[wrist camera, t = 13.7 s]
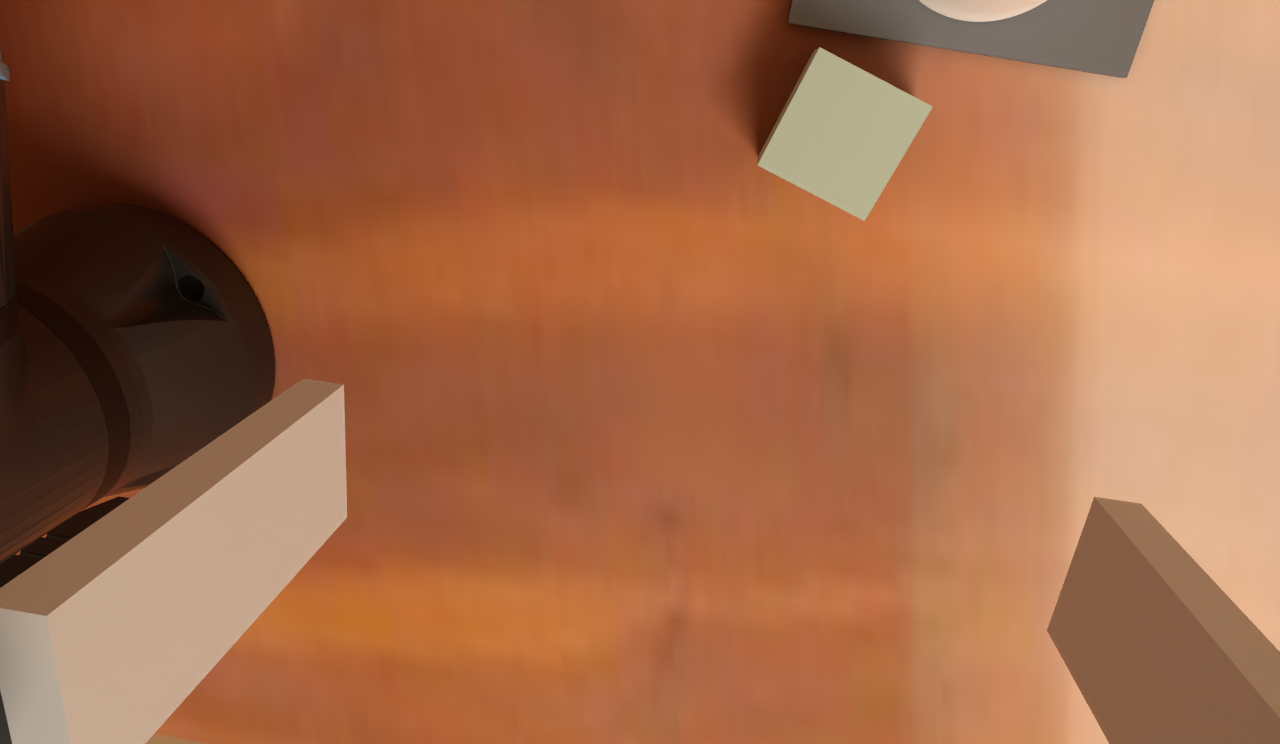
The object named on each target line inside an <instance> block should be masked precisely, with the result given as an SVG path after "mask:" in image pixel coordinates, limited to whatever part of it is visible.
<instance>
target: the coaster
mask: <svg viewBox="0 0 1280 744" xmlns="http://www.w3.org/2000/svg"><path fill="white" fill-rule="evenodd" d="M1153 2H1154V0H1047V1H1045V2H1044V3H1042V4H1040V5H1039V6H1037V7H1035V8H1033V9H1031V10H1029V11H1027V12H1024V13H1022V14H1019V15H1016V16H1013V17H1010V18H1006V19H1002V20H996V21H988V22H971V21H963V20H957V19H953V18H950V17H947V16H944V15H942V14H939V13H937V12H935V11H933V10H931V9H930V8H928V7H927V6H925V5H924V4H922V3H921V2H920V1H918V0H792V5H791V10H790V15H789V20H788V24H794V25H800V26H806V27H812V28H818V29H825V30H831V31H837V32H843V33H849V34H855V35H862V36H868V37H874V38H880V39H886V40H892V41H898V42H905V43H911V44H917V45H923V46H929V47H935V48H942V49H948V50H954V51H960V52H966V53H972V54H978V55H985V56H991V57H997V58H1003V59H1009V60H1015V61H1022V62H1028V63H1034V64H1040V65H1046V66H1052V67H1058V68H1065V69H1071V70H1077V71H1083V72H1089V73H1095V74H1102V75H1108V76H1114V77H1120V78H1127V76H1128V73H1129V70H1130V67H1131V65H1132V62H1133V59H1134V56H1135V53H1136V50H1137V48H1138V45H1139V42H1140V39H1141V36H1142V33H1143V31H1144V28H1145V25H1146V22H1147V19H1148V16H1149V14H1150V11H1151V8H1152V5H1153Z"/></svg>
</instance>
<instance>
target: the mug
mask: <svg viewBox="0 0 1280 744" xmlns="http://www.w3.org/2000/svg"><path fill="white" fill-rule="evenodd" d="M918 1H920V2H921V3H922V4H924V5H925V6H927V7H928V8H930V9H931V10H933V11H935V12H937V13H939V14H942V15H944V16H947V17H950V18H953V19H957V20H963V21H971V22H988V21H996V20H1002V19H1006V18H1010V17H1013V16H1016V15H1019V14H1022V13H1024V12H1027V11H1029V10H1031V9H1033V8H1035V7H1037V6H1039V5H1040V4H1042V3H1044V2H1045V1H1047V0H918Z"/></svg>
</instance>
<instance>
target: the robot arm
mask: <svg viewBox="0 0 1280 744" xmlns="http://www.w3.org/2000/svg"><path fill="white" fill-rule="evenodd" d="M9 76H10V72H9V68H8V66H7V65H6V64H5V63H4V62H3V61H2V58H1V51H0V744H145V743H146V742H147V741H148V740H149V739H150V738H151V737H152V735H153V734H154V733H155V732H156V731H157V730H158V729H159V728H160V726H161V725H162V724H163V723H164V722H165V721H166V720H167V719H168V718H169V716H170V715H171V714H172V713H173V712H174V711H175V710H176V709H177V707H178V706H179V705H180V704H181V703H182V702H183V701H184V700H185V698H186V697H187V696H188V695H189V694H190V693H191V692H192V691H193V689H194V688H195V687H196V686H197V685H198V684H199V683H200V682H201V680H202V679H203V678H204V677H205V676H206V675H207V674H208V673H209V672H210V670H211V669H212V668H213V667H214V666H215V665H216V664H217V663H218V661H219V660H220V659H221V658H222V657H223V656H224V655H225V654H226V652H227V651H228V650H229V649H230V648H231V647H232V646H233V645H234V643H235V642H236V641H237V640H238V639H239V638H240V637H241V636H242V635H243V633H244V632H245V631H246V630H247V629H248V628H249V627H250V626H251V624H252V623H253V622H254V621H255V620H256V619H257V618H258V617H259V615H260V614H261V613H262V612H263V611H264V610H265V609H266V608H267V606H268V605H269V604H270V603H271V602H272V601H273V600H274V599H275V598H276V596H277V595H278V594H279V593H280V592H281V591H282V590H283V589H284V587H285V586H286V585H287V584H288V583H289V582H290V581H291V580H292V578H293V577H294V576H295V575H296V574H297V573H298V572H299V571H300V569H301V568H302V567H303V566H304V565H305V564H306V563H307V562H308V560H309V559H310V558H311V557H312V556H313V555H314V554H315V553H316V552H317V550H318V549H319V548H320V547H321V546H322V545H323V544H324V543H325V541H326V540H327V539H328V538H329V537H330V536H331V535H332V534H333V532H334V531H335V530H336V529H337V528H338V527H339V526H340V525H341V523H342V522H343V521H344V520H345V519H346V518H347V492H346V452H345V411H344V385H343V384H336V383H330V382H323V381H316V380H310V379H302V380H300V381H299V382H297V383H296V384H294V385H293V386H292V387H290V388H289V389H287V390H286V391H284V392H283V393H281V394H280V395H279V396H277V397H276V398H274V399H273V400H271V398H272V394H273V389H274V381H275V358H274V350H273V345H272V339H271V336H270V332H269V328H268V325H267V322H266V319H265V317H264V315H263V312H262V310H261V308H260V306H259V304H258V301H257V299H256V298H255V296H254V294H253V292H252V291H251V289H250V287H249V286H248V284H247V283H246V281H245V280H244V278H243V277H242V276H241V274H240V273H239V272H238V270H237V269H236V268H235V267H234V266H233V264H232V263H231V262H230V261H229V260H228V259H227V258H226V257H225V256H224V255H223V254H222V253H221V252H220V251H219V250H218V249H217V248H216V247H215V246H214V245H213V244H211V243H210V242H209V241H208V240H207V239H205V238H204V237H203V236H201V235H200V234H199V233H197V232H196V231H194V230H193V229H191V228H189V227H188V226H186V225H184V224H183V223H181V222H179V221H177V220H175V219H173V218H171V217H169V216H167V215H164V214H161V213H159V212H156V211H153V210H150V209H146V208H142V207H138V206H132V205H124V204H102V205H95V206H89V207H84V208H79V209H74V210H68V211H63V212H59V213H55V214H52V215H49V216H47V217H44V218H42V219H39V220H37V221H35V222H33V223H31V224H29V225H28V226H26V227H25V228H23V229H22V230H20V231H19V232H17V233H16V235H15V236H13V224H12V211H11V197H10V184H9V167H8V147H7V127H6V106H5V86H4V80H6V81H10V80H9ZM145 487H146V488H145ZM141 488H144V489H143V490H141V491H140V492H138V493H137V494H135V495H134V496H133V497H131V498H125V497H117V498H114V499H111V500H109V501H106V502H104V503H101V504H99V505H96V506H93V507H91V508H88V509H86V510H83V509H85V508H86V507H88V506H89V505H91V504H93V503H94V502H96V501H97V500H99V499H101V498H102V497H106V496H110V495H114V494H119V493H123V492H128V491H132V490H137V489H141ZM82 510H83V511H82ZM80 511H81V512H80ZM45 534H47V536H46V538H43V537H42V536H44V535H45ZM19 551H21V553H20V555H19V556H18V555H15V554H16V553H18V552H19ZM1047 631H1048V633H1049V635H1050V637H1051V638H1052V640H1053V642H1054V644H1055V646H1056V647H1057V649H1058V651H1059V653H1060V655H1061V657H1062V658H1063V660H1064V662H1065V664H1066V666H1067V667H1068V669H1069V671H1070V673H1071V675H1072V676H1073V678H1074V680H1075V682H1076V684H1077V686H1078V687H1079V689H1080V691H1081V693H1082V695H1083V696H1084V698H1085V700H1086V702H1087V704H1088V706H1089V707H1090V709H1091V711H1092V713H1093V715H1094V716H1095V718H1096V720H1097V722H1098V724H1099V725H1100V727H1101V729H1102V731H1103V733H1104V735H1105V736H1106V738H1107V740H1108V742H1109V744H1280V652H1279V651H1278V650H1277V648H1276V647H1275V646H1274V645H1273V644H1272V643H1271V642H1270V641H1269V640H1268V639H1267V638H1266V637H1265V636H1264V635H1263V633H1262V632H1261V631H1260V630H1259V629H1258V628H1257V627H1256V626H1255V625H1254V624H1253V623H1252V622H1251V621H1250V620H1249V618H1248V617H1247V616H1246V615H1245V614H1244V613H1243V612H1242V611H1241V610H1240V609H1239V608H1238V607H1237V606H1236V605H1235V604H1234V602H1233V601H1232V600H1231V599H1230V598H1229V597H1228V596H1227V595H1226V594H1225V593H1224V592H1223V591H1222V590H1221V589H1220V587H1219V586H1218V585H1217V584H1216V583H1215V582H1214V581H1213V580H1212V579H1211V578H1210V577H1209V576H1208V575H1207V574H1206V572H1205V571H1204V570H1203V569H1202V568H1201V567H1200V566H1199V565H1198V564H1197V563H1196V562H1195V561H1194V560H1193V559H1192V557H1191V556H1190V555H1189V554H1188V553H1187V552H1186V551H1185V550H1184V549H1183V548H1182V547H1181V546H1180V545H1179V544H1178V542H1177V541H1176V540H1175V539H1174V538H1173V537H1172V536H1171V535H1170V534H1169V533H1168V532H1167V531H1166V530H1165V529H1164V527H1163V526H1162V525H1161V524H1160V523H1159V522H1158V521H1157V520H1156V519H1155V518H1154V517H1153V516H1152V515H1151V514H1150V512H1149V511H1148V510H1147V509H1146V508H1145V507H1144V506H1143V505H1142V504H1139V503H1132V502H1125V501H1119V500H1112V499H1105V498H1098V497H1094V500H1093V503H1092V505H1091V508H1090V511H1089V514H1088V517H1087V519H1086V522H1085V525H1084V528H1083V531H1082V534H1081V536H1080V539H1079V542H1078V545H1077V548H1076V550H1075V553H1074V556H1073V559H1072V562H1071V565H1070V567H1069V570H1068V573H1067V576H1066V579H1065V581H1064V584H1063V587H1062V590H1061V593H1060V596H1059V598H1058V601H1057V604H1056V607H1055V610H1054V612H1053V615H1052V618H1051V621H1050V624H1049V627H1048V629H1047Z"/></svg>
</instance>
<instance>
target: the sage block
mask: <svg viewBox="0 0 1280 744" xmlns="http://www.w3.org/2000/svg"><path fill="white" fill-rule="evenodd" d="M932 107H933V106H931V105H929V104H927V103H925V102H923V101H921V100H919V99H917V98H915V97H914V96H912V95H910V94H908V93H906V92H904V91H902V90H900V89H898V88H896V87H895V86H893V85H891V84H889V83H887V82H885V81H883V80H881V79H879V78H877V77H876V76H874V75H872V74H870V73H868V72H866V71H864V70H862V69H860V68H858V67H857V66H855V65H853V64H851V63H849V62H847V61H845V60H843V59H841V58H839V57H837V56H836V55H834V54H832V53H830V52H828V51H826V50H824V49H822V48H820V47H819V48H817V49H815V50H814V51H813V53H812V55H811V56H810V58H809V60H808V62H807V64H806V66H805V68H804V70H803V72H802V74H801V75H800V77H799V79H798V81H797V83H796V85H795V87H794V89H793V91H792V93H791V94H790V96H789V98H788V100H787V102H786V104H785V106H784V108H783V110H782V112H781V113H780V115H779V117H778V119H777V121H776V123H775V125H774V127H773V129H772V131H771V132H770V134H769V136H768V138H767V140H766V142H765V144H764V146H763V148H762V150H761V151H760V153H759V155H758V161H757V165H758V166H760V167H762V168H764V169H766V170H767V171H769V172H771V173H773V174H775V175H777V176H779V177H781V178H783V179H785V180H787V181H789V182H791V183H792V184H794V185H796V186H798V187H800V188H802V189H804V190H806V191H808V192H810V193H812V194H814V195H816V196H817V197H819V198H821V199H823V200H825V201H827V202H829V203H831V204H833V205H835V206H837V207H839V208H841V209H842V210H844V211H846V212H848V213H850V214H852V215H854V216H856V217H858V218H860V219H862V220H864V221H865V219H866V218H867V216H868V214H869V213H870V211H871V209H872V208H873V206H874V204H875V203H876V201H877V199H878V198H879V196H880V194H881V193H882V191H883V189H884V187H885V186H886V184H887V182H888V181H889V179H890V177H891V176H892V174H893V172H894V171H895V169H896V167H897V166H898V164H899V162H900V161H901V159H902V157H903V156H904V154H905V152H906V151H907V149H908V147H909V146H910V144H911V142H912V141H913V139H914V137H915V136H916V134H917V132H918V131H919V129H920V127H921V126H922V124H923V122H924V121H925V119H926V117H927V116H928V114H929V112H930V111H931V109H932Z"/></svg>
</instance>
